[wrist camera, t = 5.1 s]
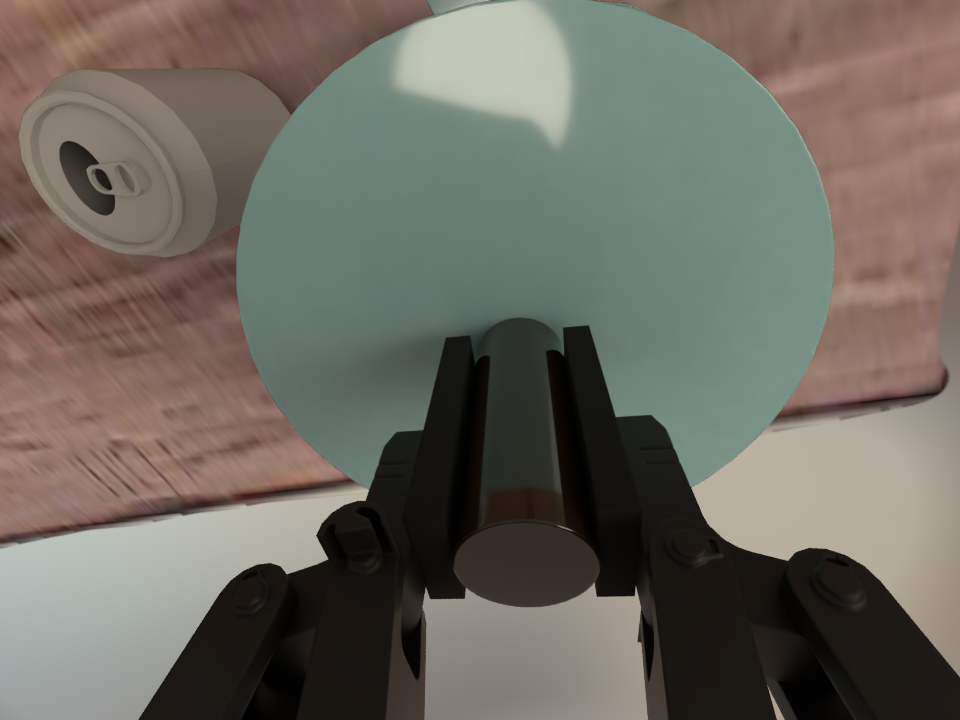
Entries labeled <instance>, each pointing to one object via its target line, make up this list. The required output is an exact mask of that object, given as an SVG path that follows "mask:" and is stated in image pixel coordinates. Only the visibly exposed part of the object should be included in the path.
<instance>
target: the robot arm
mask: <svg viewBox="0 0 960 720" xmlns="http://www.w3.org/2000/svg"><path fill="white" fill-rule="evenodd" d="M563 341H564V359H565V365H566V371H567V376H568V382H569V388H570V393H571V399H572V405H573V411H574V416H575V422H576V428H577V433H578V439H579V445H580V450H581V456H582V462H583V467H584V473H585V479H586V484H587V490H588V496H589V502H590V507H591V513H592V519H593V524H594V530H595V536H596V541H597V547H598V549H599V554H600V561H601V566H600V571H599V575H598V577H597V579H596V581H595V588H596V594H597V597H606V596H607V597H608V596H635V587H637V591H638V595H639V600H640V604H641V615H640V624H639V634H638V642H641V643H642V654H643V666H644V678H645V689H646V700H647V713H648V720H777V719H776V715H775V711H774V708H773V704H772V701H771V697H770V694H769V690H768V687H769V689H770V691H771V693H772V695H773V697H774V699H775V701H776V703H777V705H778V707H779V709H780V711H781V713H782V715H783V717H784V719H785V720H960V677H959V676H958V675H957V674H956V672H955V671H954V670H953V668H952V667H951V666H950V665H949V664H948V663H947V662H946V660H945V659H944V658H943V656H942V655H941V654H940V653H939V652H938V650H937V649H936V648H935V647H934V646H933V644H932V643H931V642H930V641H929V639H928V638H927V637H926V636H925V635H924V633H923V632H922V631H921V630H920V629H919V628H918V626H917V625H916V624H915V623H914V621H913V620H912V619H911V618H910V616H909V615H908V614H907V613H906V612H905V610H904V609H903V608H902V607H901V606H900V604H899V603H898V602H897V601H896V600H895V599H894V597H893V596H892V595H891V593H890V592H889V591H888V590H887V589H886V588H885V586H884V585H883V584H882V583H881V581H880V580H879V579H877V578H876V577H875V576H874V575H873V574H872V573H871V572H870V571H869V570H868V569H866V567H865V566H863V565H861V564H860V563H857V562H856V561H855V560H853V559H851V558H849V557H848V556H846V555H843V554H840V553H837V552H834V551H831V550H828V549H817V548H815V549H814V548H808V549H805V550H801V551H798V552H796V553H795V554H794V555H793V556H792V557H791V558H790V559H789V561H786V560H782V559H778V558H774V557H770V556H765V555H762V554H757V553H754V552H750V551H747V550H744V549H741V548H738V547H737V546H734V545H733V544H731V543H729V542H727V541H726V540H724V539H723V538H721V537H720V535H719V534H717V533H716V532H715V531H714V530H713V529H712V528H711V527H710V526H709V525H708V524H707V522H706V520H705V519H704V517H703V515H702V513H701V510H700V508H699V505H698V503H697V501H696V498H695V496H694V493H693V491H692V489H691V486H690V484H689V482H688V479H687V477H686V474H685V472H684V470H683V467H682V465H681V463H680V462H679V458H678V455H677V453H676V451H675V449H674V448H673V444H672V441H671V439H670V436H669V434H668V432H667V429H666V428H665V427H664V426H663V425H662V424H661V423H660V422H659V421H657V420H656V419H655V418H654V417H653V416H652V415H639V416H623V417H616V416H615V412H614V409H613V405H612V402H611V399H610V395H609V392H608V388H607V385H606V382H605V378H604V375H603V371H602V368H601V364H600V361H599V358H598V354H597V351H596V347H595V344H594V340H593V337H592V334H591V330H590V327H589V325H584V326H572V327H563ZM474 374H475V361H474V355H473V349H472V343H471V337H470V335H469V336H457V337H446V339H445V343H444V347H443V351H442V355H441V359H440V363H439V367H438V371H437V376H436V380H435V384H434V388H433V392H432V396H431V400H430V404H429V408H428V412H427V416H426V421H425V425H424V429H423V430H417V431H400V432H396V433H395V434H394V435H393V436H392V438H391V439H390V440H389V441H388V442H387V443H386V445H385V446H384V448H383V451H382V454H381V457H380V460H379V466H377V469H376V472H375V475H374V479H373V480H372V483H371V486H370V489H369V492H368V496H367V498H366V501H356V502H353V503H350V504H347V505H344V506H342V507H341V508H339V509H338V510H336V511H334V512H333V513H331V515H330V516H329V517H328V518H327V519H326V520H325V521H324V522H323V523H322V525H321V527H320V529H319V531H318V533H317V535H316V536H317V538H318V540H319V542H320V544H321V546H322V547H323V549H324V551H325V553H326V555H327V557H328V560H326V561H324V562H322V563H319V564H317V565H314V566H311V567H308V568H305V569H302V570H299V571H296V572H293V573H290V574H286V573H285V571H284V570H283V569H282V568H281V567H280V566H278V565H274V564H271V563H267V564H259V565H256V566H253V567H251V568H249V569H247V570H245V571H243V572H241V573H240V574H239V575H238V576H236V577H235V578H233V579H232V580H231V581H230V582H229V583H228V584H227V586H226V587H225V588H224V589H223V591H222V592H221V593H220V594H219V596H218V597H217V599H216V600H215V602H214V603H213V605H212V606H211V608H210V610H209V611H208V613H207V614H206V616H205V618H204V619H203V620H202V622H201V624H200V625H199V627H198V628H197V630H196V631H195V633H194V634H193V636H192V638H191V639H190V641H189V642H188V644H187V645H186V647H185V649H184V650H183V652H182V653H181V655H180V656H179V658H178V659H177V661H176V662H175V664H174V665H173V667H172V668H171V670H170V672H169V673H168V675H167V676H166V678H165V679H164V681H163V683H162V684H161V686H160V687H159V689H158V690H157V692H156V693H155V695H154V696H153V698H152V699H151V701H150V703H149V704H148V706H147V707H146V709H145V710H144V712H143V713H142V715H141V716H140V718H139V720H424V709H425V708H424V707H425V660H426V620H425V614H424V611H423V608H422V606H423V600H424V594H425V588H427V591H428V594H429V596H430V599H464V598H465V590H466V587H465V586H464V585H463V584H462V583H461V582H460V581H459V579H458V578H457V576H456V574H455V572H454V569H453V565H452V554H453V546H454V538H455V530H456V521H457V513H458V505H459V497H460V489H461V481H462V472H463V464H464V456H465V448H466V440H467V432H468V423H469V415H470V407H471V399H472V391H473V383H474ZM767 685H768V687H767Z"/></svg>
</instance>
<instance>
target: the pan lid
mask: <svg viewBox="0 0 960 720" xmlns="http://www.w3.org/2000/svg"><path fill="white" fill-rule="evenodd" d="M833 269H834V241H833V232H832V224H831V216H830V208H829V205H828V201H827V198H826V195H825V191H824V188H823V185H822V182H821V178H820V175H819V172H818V168H817V166H816V164H815V162H814V160H813V158H812V156H811V154H810V152H809V150H808V148H807V146H806V144H805V142H804V140H803V139H802V137H801V135H800V133H799V131H798V129H797V127H796V126H795V124H794V123H793V122H792V120H791V119H790V118H789V117H788V115H787V114H786V113H785V111H784V110H783V109H782V107H781V106H780V105H779V104H778V102H777V101H776V100H775V98H774V97H773V96H772V94H771V93H770V92H769V91H768V89H766V88H765V87H764V86H763V85H762V84H761V83H760V82H759V81H758V80H756V79H755V78H754V77H753V76H752V75H751V74H750V73H749V72H748V71H746V70H745V69H744V68H743V67H742V66H741V65H740V64H739V63H738V62H737V61H735V60H734V59H733V58H732V57H731V56H729V55H728V54H726V53H724V52H723V51H721V50H719V49H718V48H716V47H715V46H713V45H711V44H710V43H708V42H707V41H705V40H703V39H702V38H700V37H699V36H697V35H695V34H694V33H692V32H690V31H689V30H687V29H685V28H682V27H680V26H677V25H675V24H672V23H669V22H667V21H664V20H662V19H659V18H657V17H654V16H652V15H649V14H647V13H644V12H642V11H639V10H636V9H631V8H627V7H622V6H617V5H612V4H608V3H603V2H598V1H593V0H495V1H487V2H480V3H472V4H469V5H466V6H462V7H459V8H456V9H452V10H449V11H446V12H442V13H439V14H436V15H432V16H429V17H426V18H422V19H420V20H418V21H416V22H414V23H412V24H410V25H408V26H406V27H403V28H401V29H399V30H397V31H395V32H393V33H391V34H389V35H387V36H385V37H383V38H381V39H379V40H377V41H375V42H373V43H372V44H370V45H369V46H367V47H366V48H365V49H363V50H362V51H360V52H359V53H358V54H356V55H355V56H353V57H352V58H351V59H349V60H348V61H346V62H345V63H343V64H342V65H341V66H339V67H338V68H336V69H335V70H334V71H332V72H331V73H330V74H329V75H328V76H327V77H326V78H325V79H324V80H323V81H322V82H321V83H320V84H319V85H318V86H317V87H316V88H315V89H314V90H313V91H312V92H311V93H310V94H309V95H308V96H307V97H306V98H305V99H304V100H303V101H302V102H301V103H300V104H299V105H298V107H297V108H296V109H295V111H294V112H293V114H292V115H291V116H290V118H289V119H288V120H287V122H286V123H285V125H284V126H283V127H282V129H281V130H280V131H279V133H278V134H277V136H276V137H275V138H274V140H273V141H272V143H271V145H270V147H269V149H268V151H267V153H266V155H265V157H264V159H263V161H262V163H261V165H260V167H259V169H258V171H257V173H256V175H255V177H254V180H253V183H252V186H251V189H250V192H249V195H248V198H247V202H246V205H245V208H244V211H243V214H242V219H241V225H240V232H239V238H238V245H237V251H236V290H237V297H238V304H239V311H240V318H241V323H242V327H243V330H244V334H245V337H246V341H247V344H248V348H249V351H250V354H251V356H252V358H253V361H254V363H255V365H256V368H257V370H258V372H259V374H260V377H261V379H262V381H263V383H264V385H265V386H266V388H267V390H268V391H269V393H270V395H271V396H272V398H273V400H274V401H275V403H276V405H277V406H278V408H279V409H280V410H281V412H282V413H283V414H284V416H285V417H286V418H287V420H288V421H289V422H290V423H291V425H292V426H293V427H294V429H295V430H296V431H297V432H298V433H299V434H300V435H301V436H302V437H303V438H304V439H305V440H306V441H307V443H308V444H309V445H310V446H311V447H312V448H313V449H314V450H315V451H316V452H317V453H319V454H320V455H321V456H322V457H323V458H324V459H326V460H327V461H328V462H329V463H330V464H332V465H333V466H334V467H335V468H336V469H338V470H339V471H340V472H342V473H343V474H345V475H346V476H348V477H349V478H351V479H352V480H354V481H355V482H357V483H358V484H359V485H361V486H363V487H365V488H366V489H368V490H369V489H370V486H371V483H372V480H373V479H374V475H375V472H376V469H377V466H379V460H380V457H381V454H382V451H383V448H384V446H385V445H386V443H387V442H388V441H389V440H390V439H391V438H392V436H393V435H394V434H395V433H396V432H400V431H417V430H423V429H424V425H425V421H426V416H427V412H428V408H429V404H430V400H431V396H432V392H433V388H434V384H435V380H436V376H437V371H438V367H439V363H440V359H441V355H442V351H443V347H444V343H445V339H446V337H457V336H469V335H470V337H471V343H472V349H473V355H474V361H475V374H474V383H473V391H472V399H471V407H470V415H469V423H468V432H467V440H466V448H465V456H464V464H463V472H462V481H461V489H460V497H459V505H458V513H457V521H456V530H455V538H454V546H453V554H452V565H453V569H454V572H455V574H456V576H457V578H458V579H459V581H460V582H461V583H462V584H463V585H464V586H465V587H466V588H467V589H469V590H470V591H471V592H473V593H475V594H476V595H478V596H480V597H482V598H485V599H487V600H489V601H492V602H496V603H499V604H503V605H508V606H515V607H543V606H550V605H555V604H559V603H562V602H566V601H568V600H571V599H573V598H575V597H577V596H579V595H581V594H582V593H584V592H585V591H586V590H588V589H589V588H590V587H591V586H592V585H593V583H594V582H595V581H596V579H597V577H598V575H599V571H600V566H601V561H600V554H599V549H598V547H597V541H596V536H595V530H594V524H593V519H592V513H591V507H590V502H589V496H588V490H587V484H586V479H585V473H584V467H583V462H582V456H581V450H580V445H579V439H578V433H577V428H576V422H575V416H574V411H573V405H572V399H571V393H570V388H569V382H568V376H567V371H566V365H565V359H564V341H563V327H572V326H584V325H589V327H590V330H591V334H592V337H593V340H594V344H595V347H596V351H597V354H598V358H599V361H600V364H601V368H602V371H603V375H604V378H605V382H606V385H607V388H608V392H609V395H610V399H611V402H612V405H613V409H614V412H615V416H616V417H623V416H639V415H652V416H653V417H654V418H655V419H656V420H657V421H659V422H660V423H661V424H662V425H663V426H664V427H665V428H666V429H667V432H668V434H669V436H670V439H671V441H672V444H673V448H674V449H675V451H676V453H677V455H678V458H679V462H680V463H681V465H682V467H683V470H684V472H685V474H686V477H687V479H688V482H689V484H690V486H691V488H692V487H693V486H695V485H697V484H699V483H700V482H702V481H704V480H705V479H707V478H708V477H710V476H711V475H713V474H714V473H715V472H717V471H718V470H720V469H721V468H722V467H724V466H725V465H727V464H728V463H729V462H731V461H732V460H733V459H734V458H735V457H737V456H738V455H739V454H740V453H741V452H742V451H743V450H744V449H745V448H747V447H748V446H749V445H750V444H751V443H752V442H753V441H754V440H756V439H757V437H758V436H759V435H760V434H761V433H762V432H763V431H764V430H765V429H766V427H767V426H768V425H769V424H770V423H771V422H772V421H773V420H774V418H775V417H776V416H777V415H778V414H779V412H780V411H781V409H782V408H783V407H784V405H785V404H786V402H787V401H788V399H789V398H790V397H791V395H792V394H793V392H794V391H795V390H796V388H797V386H798V384H799V383H800V381H801V379H802V377H803V375H804V373H805V371H806V369H807V367H808V366H809V364H810V362H811V360H812V358H813V356H814V353H815V350H816V347H817V345H818V342H819V339H820V336H821V334H822V331H823V328H824V325H825V322H826V317H827V312H828V307H829V303H830V298H831V293H832V288H833Z"/></svg>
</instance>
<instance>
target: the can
mask: <svg viewBox="0 0 960 720" xmlns="http://www.w3.org/2000/svg"><path fill="white" fill-rule="evenodd" d="M290 116H291V114H290V113H289V112H288V110H287V109H286V107H285V106H284V105H283V103H282V102H281V100H280V99H279V98H278V96H277V95H275V94H274V93H273V92H272V91H271V90H270V89H268V88H267V87H266V86H265V85H264V84H263V83H261V82H260V81H259V80H257V79H255V78H253V77H251V76H249V75H246V74H244V73H242V72H240V71H237V70H228V69H218V68H202V69H81V70H78V71H74V72H71V73H68V74H65V75H62V76H59V77H56V78H55V79H54V80H53V82H52V83H51V84H50V85H49V86H48V87H47V88H46V89H45V90H44V92H43V93H42V94H41V95H40V96H38V97H36V98H35V100H34V101H33V102H32V103H31V104H30V105H29V106H28V107H27V109H26V110H25V111H24V112H23V115H22V119H21V124H20V128H19V132H18V136H19V143H20V150H21V157H22V161H23V163H24V165H25V168H26V170H27V172H28V174H29V177H30V179H31V181H32V184H33V186H34V187H35V188H36V190H37V191H38V192H39V194H40V195H41V197H42V198H43V199H44V201H45V202H46V204H47V205H48V206H49V208H50V209H51V210H52V211H53V212H54V213H55V214H56V215H57V216H58V217H60V218H61V219H62V220H63V221H64V222H65V223H66V224H67V225H68V226H69V227H70V228H71V229H73V230H74V231H76V232H77V233H79V234H80V235H82V236H83V237H85V238H86V239H88V240H90V241H91V242H93V243H94V244H96V245H99V246H102V247H104V248H107V249H110V250H112V251H115V252H117V253H124V254H134V255H151V256H160V257H171V256H176V255H180V254H184V253H189V252H190V251H192V250H194V249H196V248H198V247H199V246H201V245H203V244H205V243H206V242H208V241H210V240H212V239H213V238H215V237H217V236H219V235H220V234H222V233H224V232H226V231H228V230H229V229H231V228H233V227H235V226H236V225H238V224H240V223H241V219H242V214H243V211H244V208H245V205H246V202H247V198H248V195H249V192H250V189H251V186H252V183H253V180H254V177H255V175H256V173H257V171H258V169H259V167H260V165H261V163H262V161H263V159H264V157H265V155H266V153H267V151H268V149H269V147H270V145H271V143H272V141H273V140H274V138H275V137H276V136H277V134H278V133H279V131H280V130H281V129H282V127H283V126H284V125H285V123H286V122H287V120H288V119H289V118H290Z"/></svg>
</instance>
